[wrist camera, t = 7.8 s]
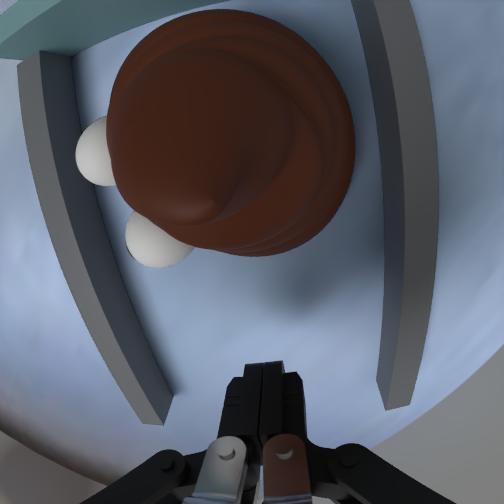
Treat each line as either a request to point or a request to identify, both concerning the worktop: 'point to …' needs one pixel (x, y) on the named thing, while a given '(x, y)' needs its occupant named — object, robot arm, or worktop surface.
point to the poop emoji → (222, 139)
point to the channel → (89, 216)
